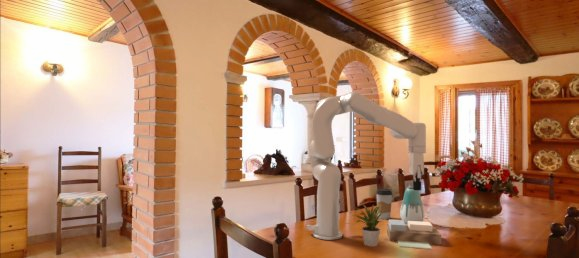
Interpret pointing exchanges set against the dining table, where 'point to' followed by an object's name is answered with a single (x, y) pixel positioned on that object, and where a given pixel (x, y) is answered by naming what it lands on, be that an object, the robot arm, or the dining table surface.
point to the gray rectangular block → (397, 225)
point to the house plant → (370, 226)
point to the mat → (414, 244)
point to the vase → (412, 206)
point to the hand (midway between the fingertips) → (417, 190)
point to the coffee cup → (384, 202)
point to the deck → (415, 235)
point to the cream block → (419, 226)
